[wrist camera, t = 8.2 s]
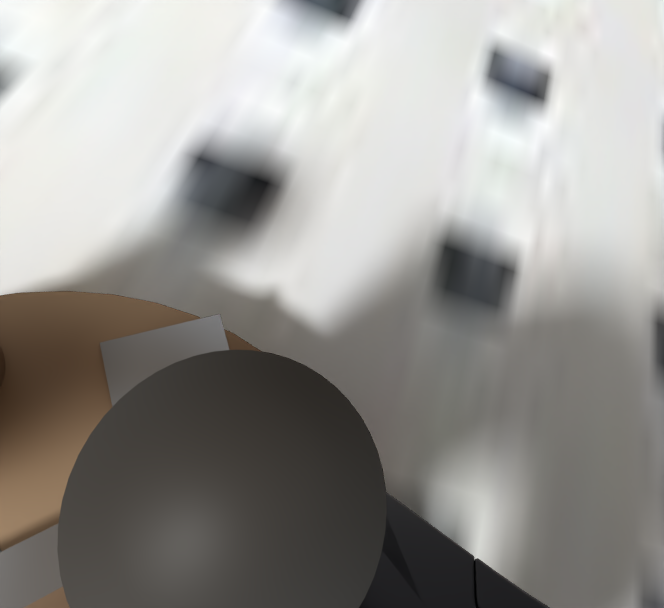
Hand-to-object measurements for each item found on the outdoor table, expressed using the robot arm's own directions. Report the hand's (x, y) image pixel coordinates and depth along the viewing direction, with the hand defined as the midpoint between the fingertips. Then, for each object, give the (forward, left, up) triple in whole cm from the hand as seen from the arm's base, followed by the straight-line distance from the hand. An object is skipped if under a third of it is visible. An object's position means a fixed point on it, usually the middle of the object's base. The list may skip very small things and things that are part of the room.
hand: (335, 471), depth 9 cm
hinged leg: (+3, +5, -4) cm, 7 cm away
